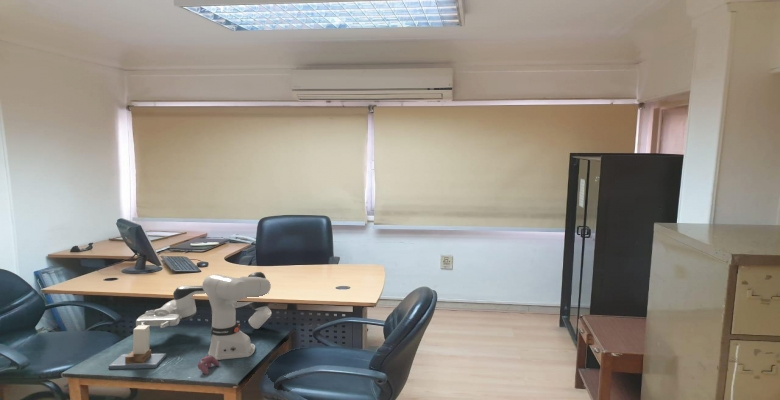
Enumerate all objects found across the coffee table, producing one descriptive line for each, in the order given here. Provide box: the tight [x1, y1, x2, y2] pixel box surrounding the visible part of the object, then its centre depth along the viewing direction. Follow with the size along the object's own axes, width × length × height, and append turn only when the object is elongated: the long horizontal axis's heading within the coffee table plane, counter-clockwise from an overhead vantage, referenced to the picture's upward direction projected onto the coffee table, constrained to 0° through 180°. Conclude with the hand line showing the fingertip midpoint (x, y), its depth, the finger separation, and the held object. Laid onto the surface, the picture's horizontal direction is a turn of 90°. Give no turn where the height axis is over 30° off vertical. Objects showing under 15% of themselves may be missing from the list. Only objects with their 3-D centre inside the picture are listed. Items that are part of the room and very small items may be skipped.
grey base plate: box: [108, 348, 167, 370], centre depth 192 cm, size 20×12×4 cm, turn 98°
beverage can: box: [248, 306, 272, 330], centre depth 239 cm, size 8×8×12 cm
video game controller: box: [197, 354, 220, 375], centre depth 188 cm, size 10×5×7 cm, turn 171°
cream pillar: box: [132, 325, 151, 354], centre depth 193 cm, size 5×5×12 cm
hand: (151, 326), depth 204 cm, fingers open, 8 cm apart
